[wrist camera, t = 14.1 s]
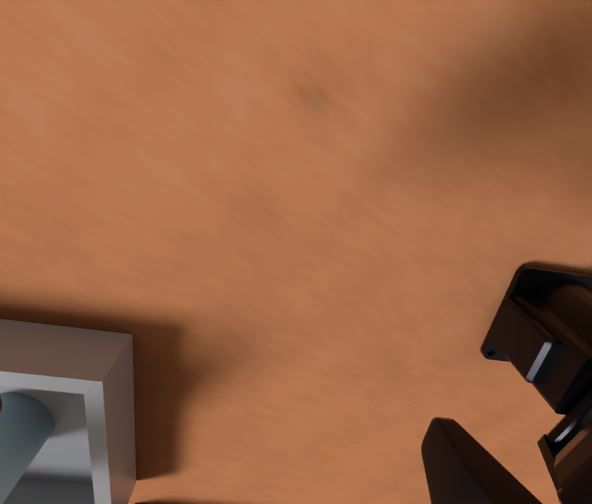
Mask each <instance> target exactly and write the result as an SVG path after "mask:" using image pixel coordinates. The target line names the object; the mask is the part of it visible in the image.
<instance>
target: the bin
mask: <svg viewBox="0 0 592 504" xmlns="http://www.w3.org/2000/svg"><path fill="white" fill-rule="evenodd" d="M1 393H18V394H23V395H26V396H29V397H31V398H34V399H36V400H37V401H39V402H40V403H42V404H43V405H44V406H45V407H46V408H47V409H48V410H49V411H50V412H51V414H52V416H53V418H54V422H55V426H54V430H53V432H52V433H51V435H50V436H49V437H48V439H47V440H46V442H45V443H44V445H43V446H42V448H41V449H40V450H39V452H38V453H37V455H36V456H35V458H34V459H33V461H32V462H31V463H30V465H29V466H28V468H27V469H26V471H25V472H24V474H23V475H22V476H21V478H20V479H19V481H18V482H17V484H16V485H15V486H14V488H13V489H12V491H11V492H10V494H9V495H8V497H7V498H6V499H5V501H4V502H3V504H128V502H129V499H130V496H131V494H132V491H133V489H134V486H135V483H136V451H135V412H134V374H133V335H132V334H128V333H119V332H110V331H102V330H93V329H84V328H76V327H67V326H59V325H50V324H41V323H33V322H24V321H15V320H7V319H0V394H1Z"/></svg>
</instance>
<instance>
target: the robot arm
mask: <svg viewBox="0 0 592 504" xmlns="http://www.w3.org/2000/svg"><path fill="white" fill-rule="evenodd" d="M526 273H528V274H527V276H525V277H524V275H525V274H526ZM490 350H491V351H490ZM480 351H481V353H482V355H483V356H484V357H485V358H486V359H491V360H499V361H508V362H511V363H512V365H513V366H514V367H515V368H516V369H517V371H518V372H519V373H520V374H521V376H522V377H523V378H524V379H525V381H526V382H528V383H532V385H533V386H534V387H535V388H536V389H537V391H538V392H539V393H540V394H541V395H542V397H543V398H544V399H545V400H546V402H547V403H548V404H549V405H550V406H551V408H552V409H553V410H554V411H555V413H557V414H564V415H565V416H564V417H563V419H562V420H561V421H560V422H559V423H558V424H557V425H556V426H555V427H554V428H553V429H552V430H551V431H550V432H549V433H548V434H547V435H545V434H544V435H543V436H542V437H541V439H540V440H539V441H538V442H537V443H538V446H539V448H540V451H541V453H542V456H543V458H544V461H545V463H546V466H547V468H548V471H549V473H550V476H551V478H552V481H553V483H554V486H555V488H556V491H557V495H558V499H559V502H560V503H561V504H592V275H591V274H584V273H577V272H570V271H563V270H556V269H549V268H542V267H535V266H528V265H524V266H521V267H520V268H518V269H517V271H516V272H515V275H514V277H513V279H512V281H511V283H510V286H509V288H508V290H507V292H506V294H505V296H504V299H503V301H502V303H501V305H500V307H499V309H498V312H497V314H496V316H495V318H494V320H493V323H492V325H491V327H490V329H489V331H488V334H487V336H486V338H485V340H484V342H483V344H482V347H481V350H480ZM488 351H490V352H488ZM1 409H2V400H1V395H0V412H1ZM421 451H422V458H423V463H424V468H425V473H426V478H427V483H428V488H429V494H430V499H431V504H542V503H541V502H540V501H539V500H538V499H537V498H536V497H535V496H534V495H533V494H532V493H531V492H530V491H528V490H527V489H526V488H525V487H524V486H523V485H522V484H521V483H520V482H519V481H518V480H517V479H516V478H515V477H514V476H513V475H512V474H511V473H510V472H509V471H508V470H506V469H505V468H504V467H503V466H502V465H501V464H500V463H499V462H498V461H497V460H496V459H495V458H494V457H493V456H492V455H491V454H490V453H489V452H488V451H487V450H486V449H484V448H483V447H482V446H481V445H480V444H479V443H478V442H477V441H476V440H475V439H474V438H473V437H472V436H471V435H470V434H469V433H468V432H467V431H466V430H465V429H464V428H462V427H461V426H460V425H459V424H458V423H457V422H456V421H455V420H453V419H450V418H441V417H435V418H433V419H432V421H431V423H430V425H429V427H428V430H427V432H426V434H425V437H424V439H423V442H422V447H421Z"/></svg>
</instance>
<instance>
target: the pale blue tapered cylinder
mask: <svg viewBox="0 0 592 504" xmlns="http://www.w3.org/2000/svg"><path fill="white" fill-rule="evenodd" d="M0 395H1V400H2V409H1V412H0V504H3V502H4V501H5V499H6V498H7V497H8V495H9V494H10V492H11V491H12V489H13V488H14V486H15V485H16V484H17V482H18V481H19V479H20V478H21V476H22V475H23V474H24V472H25V471H26V469H27V468H28V466H29V465H30V463H31V462H32V461H33V459H34V458H35V456H36V455H37V453H38V452H39V450H40V449H41V448H42V446H43V445H44V443H45V442H46V440H47V439H48V437H49V436H50V435H51V433H52V432H53V430H54V426H55V422H54V418H53V416H52V414H51V412H50V411H49V410H48V409H47V408H46V407H45V406H44V405H43V404H42V403H40V402H39V401H37V400H36V399H34V398H31V397H29V396H26V395H23V394H18V393H1V394H0Z"/></svg>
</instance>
